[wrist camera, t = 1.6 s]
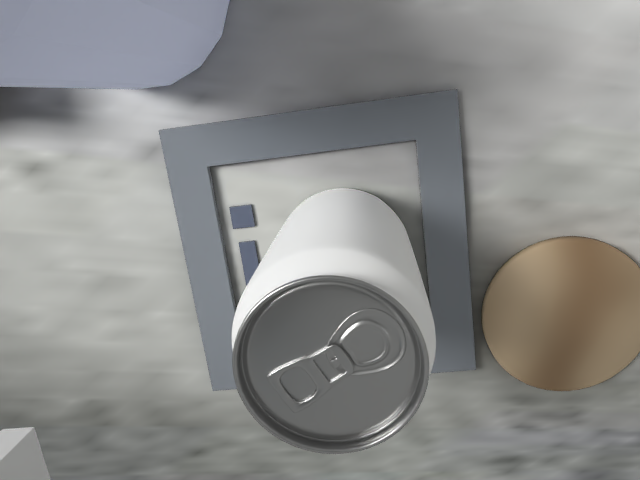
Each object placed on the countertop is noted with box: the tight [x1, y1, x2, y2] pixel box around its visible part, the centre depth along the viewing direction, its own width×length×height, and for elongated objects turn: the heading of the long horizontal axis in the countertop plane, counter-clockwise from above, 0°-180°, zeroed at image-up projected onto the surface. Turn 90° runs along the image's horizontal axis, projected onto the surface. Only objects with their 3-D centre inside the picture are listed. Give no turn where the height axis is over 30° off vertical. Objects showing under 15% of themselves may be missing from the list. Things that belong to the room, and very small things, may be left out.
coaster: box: [481, 236, 640, 391], centre depth 26 cm, size 8×8×1 cm
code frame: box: [159, 89, 476, 391], centre depth 26 cm, size 14×14×1 cm
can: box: [232, 188, 436, 454], centre depth 21 cm, size 6×6×12 cm
